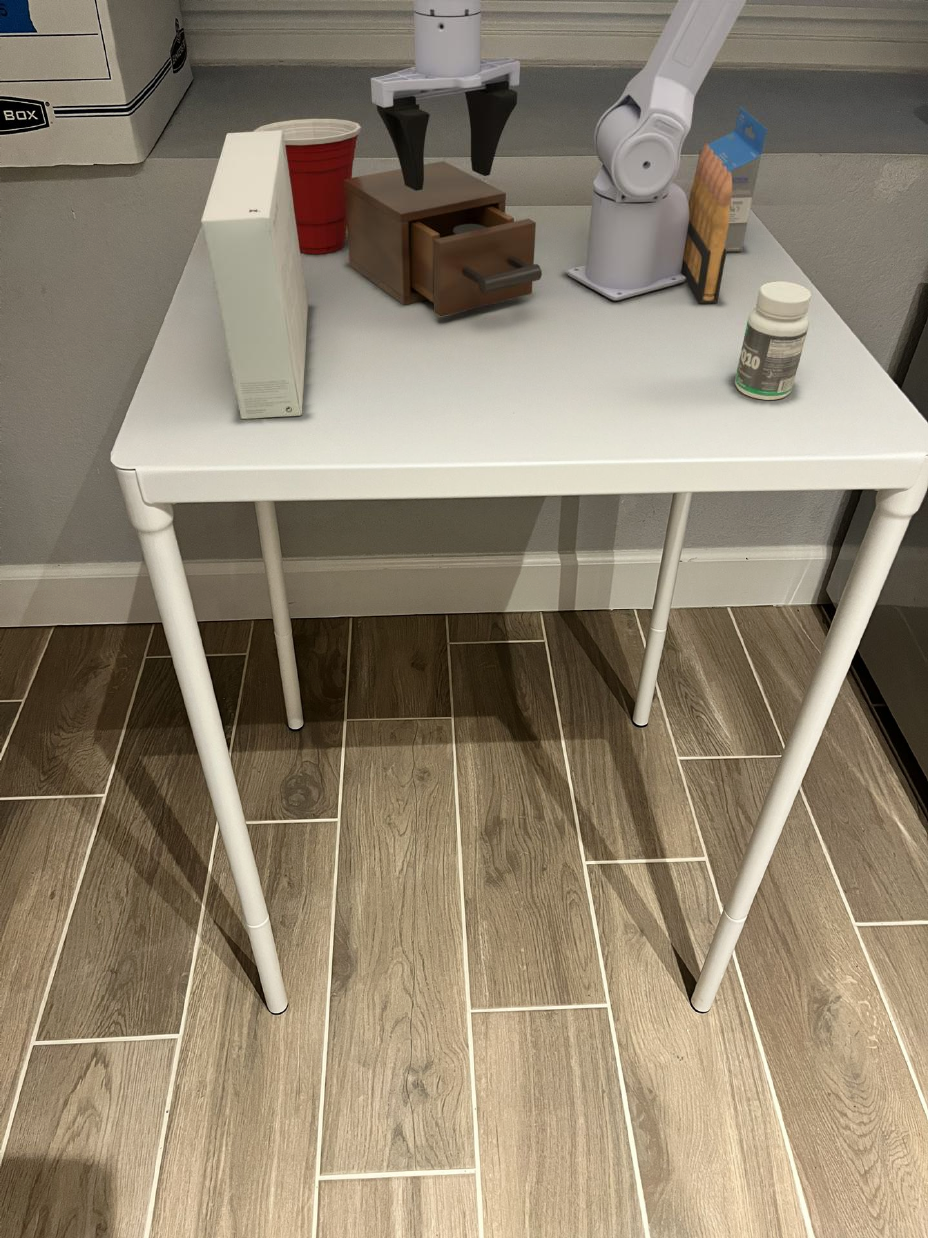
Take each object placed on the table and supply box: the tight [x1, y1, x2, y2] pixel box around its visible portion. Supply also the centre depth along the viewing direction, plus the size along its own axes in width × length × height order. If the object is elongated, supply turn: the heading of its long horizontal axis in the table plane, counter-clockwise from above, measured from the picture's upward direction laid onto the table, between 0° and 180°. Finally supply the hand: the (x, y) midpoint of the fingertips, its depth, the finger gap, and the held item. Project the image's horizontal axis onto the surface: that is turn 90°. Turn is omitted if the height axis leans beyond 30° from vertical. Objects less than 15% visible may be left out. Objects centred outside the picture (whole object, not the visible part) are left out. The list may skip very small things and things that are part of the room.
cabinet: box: [344, 160, 507, 306], centre depth 96 cm, size 12×12×9 cm
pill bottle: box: [734, 281, 812, 401], centre depth 79 cm, size 5×5×8 cm
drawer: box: [408, 205, 543, 318], centre depth 91 cm, size 15×10×7 cm
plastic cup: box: [253, 118, 362, 255], centre depth 101 cm, size 11×11×12 cm
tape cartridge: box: [697, 106, 769, 254], centre depth 103 cm, size 9×4×12 cm, turn 6°
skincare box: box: [200, 130, 309, 420], centre depth 79 cm, size 21×6×16 cm, turn 5°
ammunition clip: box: [681, 142, 732, 304], centre depth 94 cm, size 11×2×12 cm, turn 3°
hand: (448, 179), depth 90 cm, fingers open, 7 cm apart
